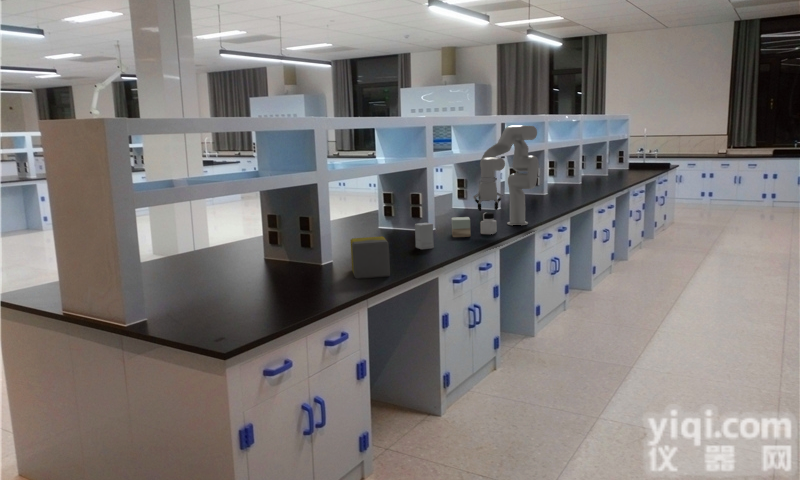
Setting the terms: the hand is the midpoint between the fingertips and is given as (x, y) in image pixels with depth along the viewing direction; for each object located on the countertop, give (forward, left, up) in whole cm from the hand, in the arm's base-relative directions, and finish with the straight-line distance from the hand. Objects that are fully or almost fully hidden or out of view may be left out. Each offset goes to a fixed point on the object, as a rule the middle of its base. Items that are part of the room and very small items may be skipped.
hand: (487, 210), depth 350 cm
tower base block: (+4, -16, -14) cm, 21 cm away
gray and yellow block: (+89, -59, -14) cm, 107 cm away
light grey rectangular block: (0, 0, -14) cm, 14 cm away
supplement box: (+38, -36, -14) cm, 54 cm away
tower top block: (+4, -16, -9) cm, 18 cm away
